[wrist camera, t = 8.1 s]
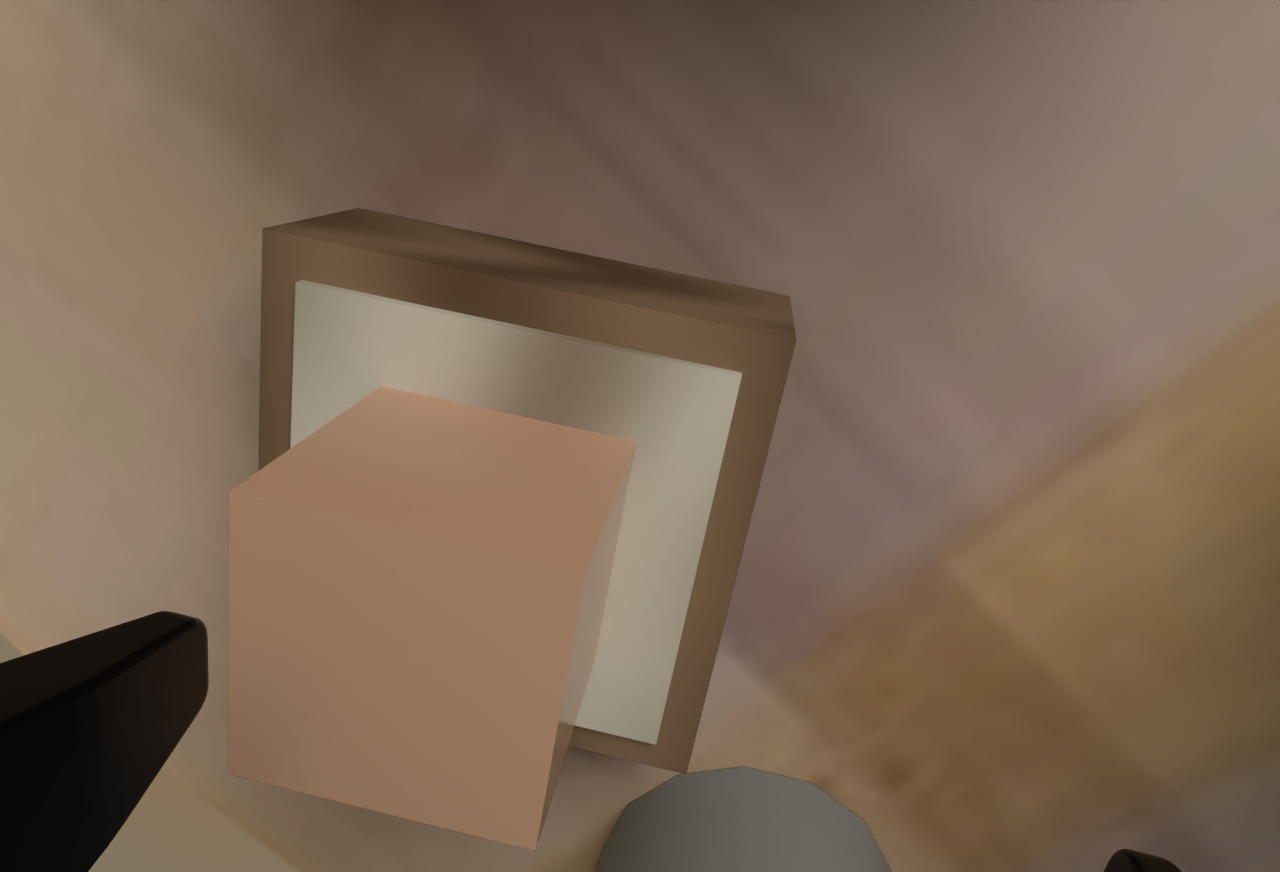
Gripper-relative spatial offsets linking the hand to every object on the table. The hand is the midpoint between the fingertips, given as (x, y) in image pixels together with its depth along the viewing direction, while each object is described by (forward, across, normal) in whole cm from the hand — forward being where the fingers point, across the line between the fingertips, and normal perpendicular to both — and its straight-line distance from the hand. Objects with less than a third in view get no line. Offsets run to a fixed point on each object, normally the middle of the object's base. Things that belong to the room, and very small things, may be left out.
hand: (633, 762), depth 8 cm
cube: (+8, +4, +2) cm, 9 cm away
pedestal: (+12, +4, +3) cm, 13 cm away
